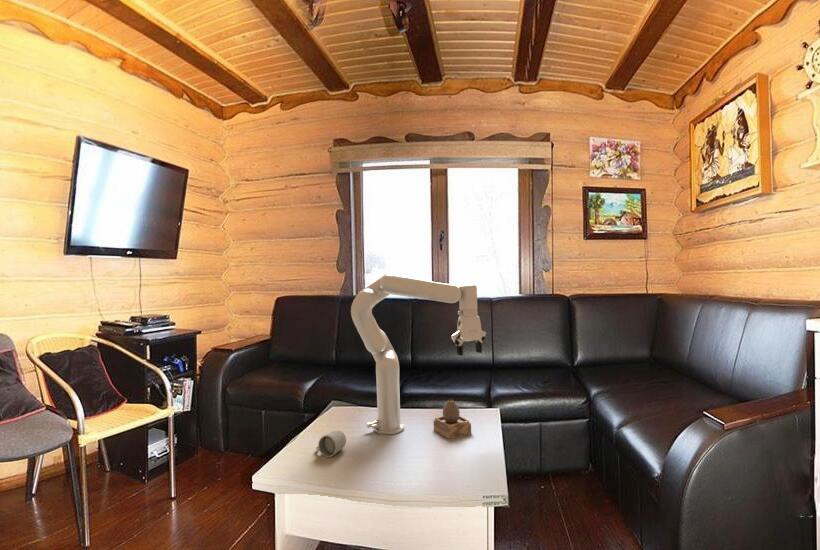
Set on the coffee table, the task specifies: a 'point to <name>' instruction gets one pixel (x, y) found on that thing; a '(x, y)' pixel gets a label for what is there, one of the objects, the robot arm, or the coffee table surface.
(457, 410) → the vase
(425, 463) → the coffee table surface
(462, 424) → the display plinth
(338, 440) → the ceramic mug
